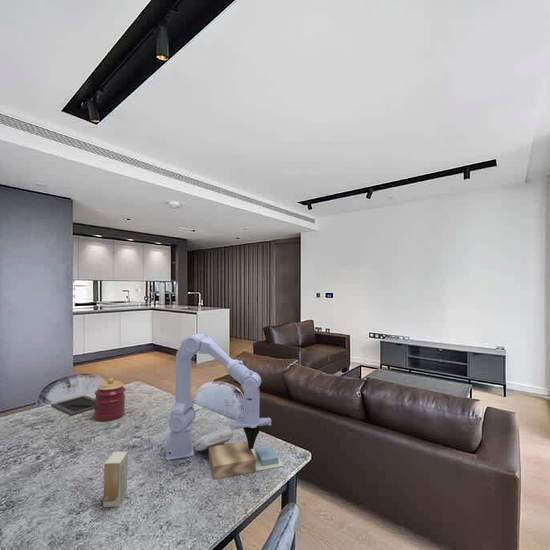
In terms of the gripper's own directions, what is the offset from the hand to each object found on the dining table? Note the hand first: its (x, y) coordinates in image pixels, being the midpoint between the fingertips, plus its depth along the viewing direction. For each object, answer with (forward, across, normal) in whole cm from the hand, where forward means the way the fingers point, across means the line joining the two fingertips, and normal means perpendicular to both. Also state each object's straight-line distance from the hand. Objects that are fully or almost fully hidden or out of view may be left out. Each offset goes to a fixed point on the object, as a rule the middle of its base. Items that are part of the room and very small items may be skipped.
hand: (250, 447), depth 111 cm
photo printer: (+1, -6, +13) cm, 14 cm away
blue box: (+2, +6, 0) cm, 6 cm away
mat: (+5, +5, 0) cm, 7 cm away
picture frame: (+5, -71, +75) cm, 104 cm away
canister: (+5, -54, +57) cm, 79 cm away
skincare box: (+5, -42, -8) cm, 43 cm away
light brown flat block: (+5, -7, 0) cm, 8 cm away
